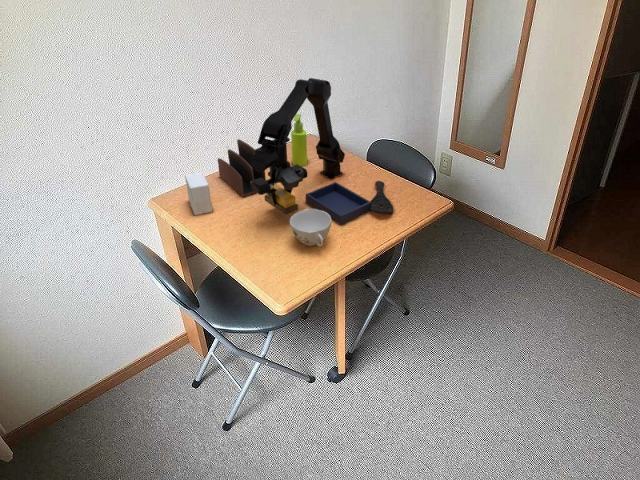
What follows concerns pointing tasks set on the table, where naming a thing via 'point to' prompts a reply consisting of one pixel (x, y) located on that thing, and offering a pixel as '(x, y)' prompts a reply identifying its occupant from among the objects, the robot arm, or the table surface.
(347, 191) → the blue tray
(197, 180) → the cosmetics box
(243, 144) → the letter holder
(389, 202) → the hairbrush
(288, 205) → the duster
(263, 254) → the table surface
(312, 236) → the teacup
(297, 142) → the soap dispenser
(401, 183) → the table surface
